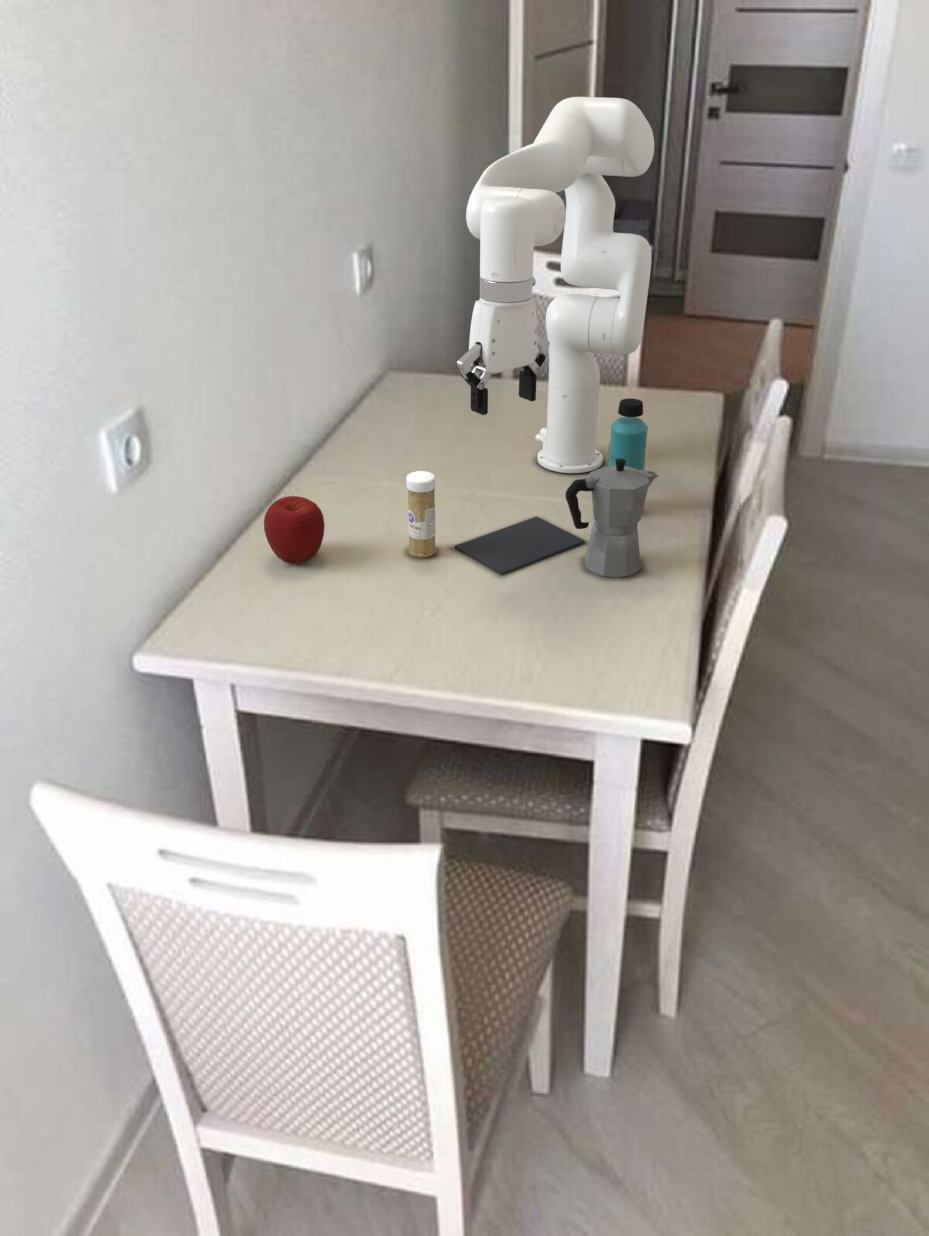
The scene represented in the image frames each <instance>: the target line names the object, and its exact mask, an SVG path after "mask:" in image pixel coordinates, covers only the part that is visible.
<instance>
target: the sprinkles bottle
mask: <svg viewBox="0 0 929 1236" xmlns="http://www.w3.org/2000/svg"><path fill="white" fill-rule="evenodd" d="M405 479H406V480H405V481H406V482H405V483H406V484H405V485H406V490H407V508H408V511H407V530H408V531H407V533H408V550H407V551H408V553H409V554H410V555H411V556H412V557H415V558H419V559H420V558H421V559H422V558H429V557H431V556H433V555H435V554H436V553H437V548H436V500H435V497H436V496H435V490H436V476H435V474H434V473H432V472H430V471H425V470H417V471H412V472H410V473H408V474H407V475H406V478H405Z"/></svg>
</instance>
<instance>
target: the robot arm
mask: <svg viewBox="0 0 929 1236" xmlns="http://www.w3.org/2000/svg"><path fill="white" fill-rule="evenodd" d="M654 153H655V138H654V132H653V129H652V127H651V124H650V123H649V121H648V120H647V118H646V116H645V115H644V113H643V112H642V110H641V109H640V108H639V107H638V106H637V105H636V104H635V103H634V102H632V101H630V100H629V99H625V98H620V97H599V96H598V97H596V96H571V97H567V98H564V99H562V100H560V101H559V102H557V104H556V105H554V107H553V108H552V110H551V112H549V115H548V116H547V118H546V120H545V122H544V124H543V125H542V127H541V128H540V130H539V132H538V134H537V135H536V137H535V139H534V141H533V142H532V143H530V144H528V145H525V146H523V147H521V148H519V149H517V150H515V151H513V152H511V153H509V154H507V155H505V156H502V157H501V158H499V159H497V160H495V161H494V162H493V163H490V165H489V166H488V167H486V168H485V170H483V172H482V174H481V175H480V177H479V178H478V180H477V182H476V184H475V186H474V187H473V188H472V191H471V193H470V195H469V198H468V201H467V205H466V209H465V210H466V212H465V222H466V225H467V228H468V230H469V232H470V234H471V235H472V236H473V237H474V238H476V239H477V240H479V299H478V300H475V302H474V305H473V309H472V315H471V320H470V321H471V322H470V330H469V340H468V341H469V342H468V351H467V352H465V353H463V355H462V356H461V357H460V358H459V359H457V361H456V366H457V368H458V370H459V372H460V376H461V378H462V379H463V380H464V381H465V382H466V385H468V386H470V410H471V411H472V412H474V413H476V414H479V415H481V416H486V415H487V414H488V412H489V389H488V388H487V387H486V385H487V384H488V381H489V380H490V378H491V376H492V375H496V374H500V373H503V372H504V373H505V372H508V371H512V370H515V369H516V370H517V369H519V368H521V369H522V370H520V371H519V375H518V377H519V378H518V397H519V398H521V399H523V400H527V401H530V402H535V401H536V400H537V379H538V377H537V376H538V375H540V373H541V367H542V365H543V364H544V362H545V361H546V355H547V353H548V383H547V384H548V386H547V407H546V410H547V411H546V427H542V428H541V429H540V430H539V433H537V434H536V435H535V437H534V440H535V441H537V442H539V443H542V449H540V450H539V451H538V453H537V462H538V464H539V466H541V467H543V468H544V469H547V470H549V471H553V472H557V473H563V474H582V473H588V472H589V473H590V472H592V471H595V470H597V469H599V468H601V466H602V465H603V462H604V456H603V453H601V452H600V451H599V450H598V449H596V445H597V429H598V415H599V402H600V401H599V398H600V385H601V372H600V368H599V365H598V363H597V360H596V359H595V357H594V356H593V353H592V352H595V353H602V354H603V353H604V354H611V355H612V354H613V355H630V354H633V353H634V352H636V350H637V349H639V346H640V344H641V341H642V337H643V332H644V325H645V317H646V311H647V303H648V296H649V288H650V287H649V286H650V281H651V280H650V279H651V272H652V271H651V270H652V249H651V245H650V243H649V241H648V240H647V238H645V237H644V236H642V235H639V234H635V233H628V232H627V233H626V232H614V219H615V211H616V210H615V209H616V200H615V196H614V194H613V191H612V190H611V188H610V186H609V185H608V183H607V181H606V179H604V177H603V176H611V177H612V176H613V177H614V176H615V177H627V178H628V177H630V178H632V177H633V178H634V177H640V176H642V175H643V174H645V173H646V172H647V171H648V169H649V168H650V166H651V164H652V161H653V158H654ZM562 191H564V193H565V194H564V195H565V201H566V203H564V201H563V199H562V198H561V197H560V195H559V194H557V193H559V192H562ZM565 204H566V205H565ZM562 232H563V235H562V246H561V254H560V256H561V257H560V275H561V277H562V279H563V281H564V282H566V283H567V284H569V285H571V286H576V287H581V288H588V289H589V288H592V289H602V290H613V291H617V292H618V293H619V297H620V298H616V297H607V296H606V297H605V296H597V295H589V294H577V293H576V294H575V293H574V294H573V293H572V294H571V293H570V294H562V295H559V296H557V297H556V298H554V299H553V300H552V301H551V302H550V303H549V305H548V307H547V309H546V312H545V331H546V337H547V339H546V338H543V337H541V336H540V335H538V318H537V307H536V303H535V297H533V287H535V285H536V283H537V282H536V281H537V280H536V278H535V277H534V250H535V249H534V248H535V247H543V246H547V245H549V244H553V242H555V241H556V240H557V239H558V238H559V237H560V235H561V234H562ZM472 368H473V369H472Z"/></svg>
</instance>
